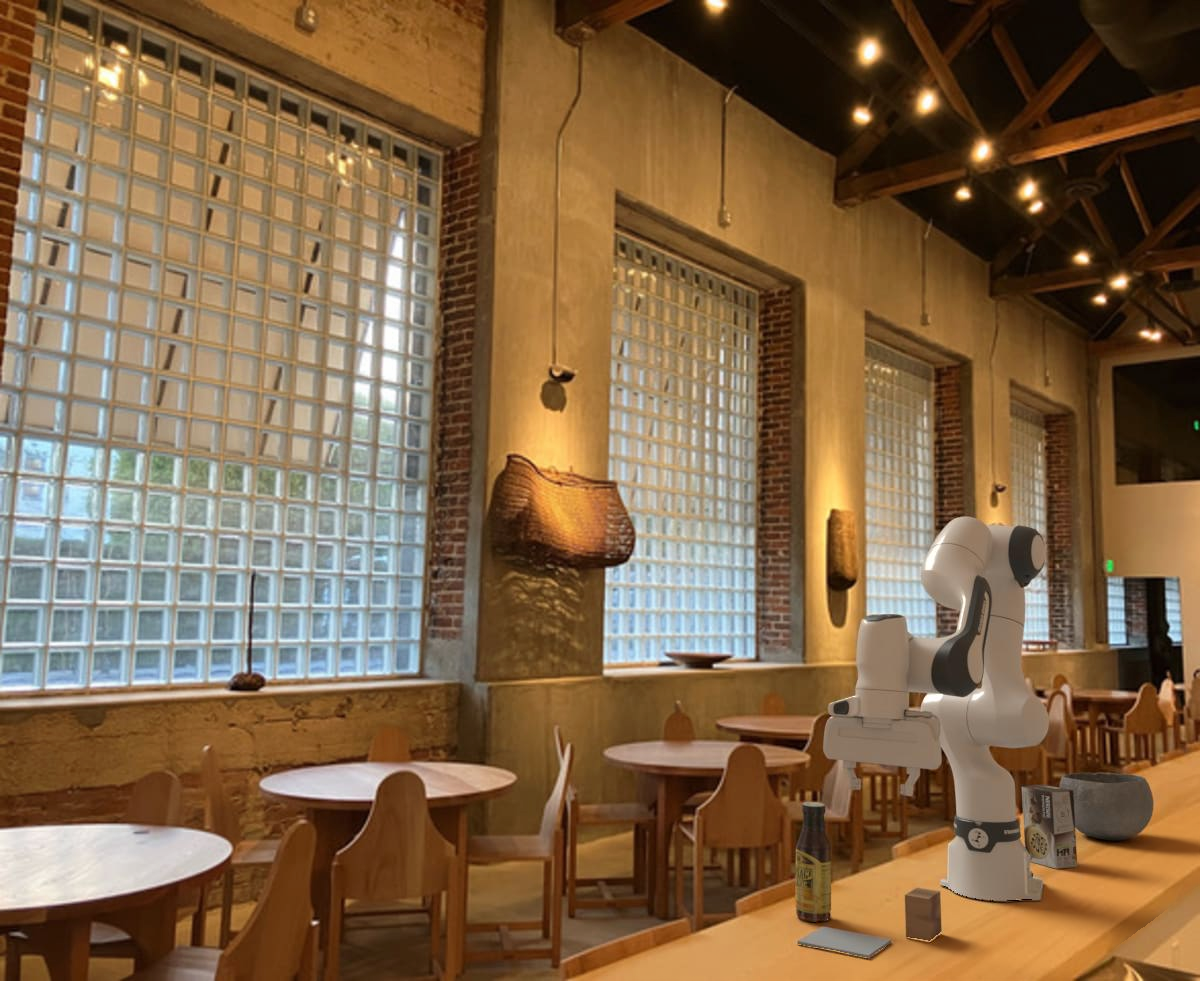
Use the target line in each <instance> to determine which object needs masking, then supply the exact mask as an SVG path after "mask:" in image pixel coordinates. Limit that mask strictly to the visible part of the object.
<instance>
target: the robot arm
mask: <svg viewBox="0 0 1200 981" xmlns="http://www.w3.org/2000/svg"><path fill="white" fill-rule="evenodd" d="M1044 540H1045V539H1044V538H1043V536H1042V535H1041V533H1039V531H1038V530H1037V529H1036V528H1033V527H1029V526H1025V525H1017V526H1013V525H1002V524H985V523H984V522H983V521H982V520H979V519H978V518H976V517H972V516H960V517H956V518H954V519H951V521H949V522H948V523H947V524H946V525H945V526H944V527H943V528H942V530H941V531H940V532H938V533H937V535H936V536H935V537H934V539H933V541H932V544H931V546H930V548H929V550H928V552H927V554H926V556H925V558H924V560H923V561H922V565H921V569H920V576H919V577H920V581H921V584H922V587H923V589H924V590H925V592H926V593H927V595H928V596H929V597H930V598H931V599H933V600H934V601H935V603H938V604H939V605H941V606H943V607H945V608H947V609H953V610H956V611H959V616H958V621H957V625H956V626H957V627H956V631H955V632H954V633H953V634H950V635H948V636H943V637H918V636H917V637H916V636H915V635H914V634H912V633H910V632H909V630H908V623H907V619H906V617H905V616H903V615H902V614H898V613H896V614H895V613H883V614H871V615H867V616H865V617H864V618H862V619H861V622H860V625H859V629H858V634H857V642H856V655H855V656H856V657H855V661H856V662H855V663H856V670H857V676H858V677H857V681H856V685H855V694H854V695H853V696H849V697H846V698H843V699H839V700H837V701H836V700H835V701H832V702H829V704H828V707H827V710H828V714H829V715H831V716H830V717H829V718H828V719H827V721H826V723H825V727H824V733H823V751H822V752H823V754H824V755H825V757H826V758H827V759H828V760H835V761H836V760H837V761H842V769H843V770H844V772H845V775H846V777H847V778H848V783H847V785H848V789H849V790H857V791H860V790H861V789H862V785H861V784H862V779H861V778H858V777H857V775H856V772H855V770H854V769H856V767H857V763H865V764H866V763H867V764H873V765H874V764H877V765H885V766H896V767H905V768H906V774H907V775H909V776H908V777H907V779H906V781H905V783H900V785H899V788H900V791H899V794H900V795H901V796H906V797H913V796H914V785H915V784H916V783H917V781H918V779H919V778H920V776H921V769H923V770H924V769H926V770H937V769H939V767H940V766H941V765H942V762H943V761H942V758H943V757H942V751H943V752H944V754H945V757H946V758H947V760H948V763H949V765H950V769H951V772H952V776H953V781H954V782H953V783H954V792H955V806H956V807H955V809H956V810H955V811H956V814H955V815H954V821H953V827H954V834H955V835H956V836H955V837H954V838H953V840H951V841H950V842H949V843H948V845H947V865H946V866H947V874H946V876H947V877H944V878H941V879H940V881H939V886H941V885H943V886H946V887H948V888H947V889H949V890H950V889H951V890H952V892H953V891H954V892H953V893H954V894H957V893H958V894H957V895H959V894H960V895H959V896H962V895H963V896H962V897H966V896H967V897H968V898H969V899H970V898H971V899H975V898H976V899H977V900H982V899H983V900H984V901H990V900H991V901H992V900H993V901H994V902H1008V901H1007V900H1016V899H1032V900H1031V901H1041V900H1042V896H1043V895H1042V894H1043V889H1044V888H1043V887H1044V881H1043V878H1041V877H1039V876H1035V875H1034V872H1033V871H1032V870H1031V862H1030V856H1029V853H1028V851H1027V850H1026V848H1025V844H1023V841H1022V840H1021V837H1022V835H1021V834H1022V833H1021V819H1020V818H1021V817H1020V816H1017V804H1016V803H1017V802H1016V800H1017V799H1016V784H1015V780H1014V778H1013V776H1012V774H1011V773H1010V772H1009V771H1008V770H1007V769H1006V768H1004V767H1003V766H1001V765H1000V764H998V763H997V761H996V760H995V759H994V758H993V755H992V753H991V752H990V749H989V746H991V747H999V748H1007V749H1017V748H1018V749H1019V748H1028V747H1036V746H1038V745H1040V744H1041V742H1043V740H1044V739H1045V737H1046V736H1047V734H1048V732H1049V726H1050V718H1049V713H1048V710H1047V708H1046V706H1045V704H1044V703H1043V702H1042V699H1040V698H1039V697H1038V696H1037V695H1036V694H1034V692H1033V691H1032V690H1031V688H1030V687H1029V686H1028V684H1027V681H1026V679H1025V675H1024V671H1023V668H1022V666H1023V665H1022V653H1023V652H1022V651H1023V641H1024V631H1025V625H1026V624H1025V622H1026V591H1025V587H1028V586H1029V585H1030V584H1031V581H1032V580H1034V579H1035V578H1037V577H1038V576H1039V574H1040V572H1041V571H1042V570H1043V568H1044V565H1045V561H1046V546H1045V545H1046V544H1045V541H1044ZM980 685H981V688H978V687H979V686H980ZM910 693H920V694H926V695H925V696H924V698H923V700H922V702H921V705H920V708H919V709H920V711H919V710H913V709H912V710H911V709H909V708H910V705H909V704H910V700H909V699H910V697H909V696H910ZM943 886H942V887H943ZM946 887H945V888H946ZM951 890H950V891H951ZM993 901H992V902H993Z"/></svg>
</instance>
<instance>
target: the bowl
mask: <svg viewBox="0 0 1200 981" xmlns="http://www.w3.org/2000/svg"><path fill="white" fill-rule="evenodd" d="M1058 787H1059V788H1064V789H1070V790H1074V792H1073V794H1074V813H1075V830H1078V831H1079V832H1080V833H1082V834H1084V835H1086V836H1088V837H1091V838H1095V839H1099V840H1106V841H1126V840H1128V839H1131V838H1133V837H1135V836H1137V835H1138V834H1140V833H1142V831H1144V830H1145V828H1146V827H1147V826H1148V824H1149V823H1150V821H1151V819H1152V817H1153V812H1154V797H1153V792H1152V789H1151V787H1150V784H1149V782H1148V780H1147V779H1146V778H1145V777H1143V776H1140V775H1135V774H1127V773H1113V772H1102V771H1100V772H1099V771H1097V772H1095V773H1094V772H1070V773H1067V774H1065V775H1062V776H1061V778H1060V782H1059V786H1058Z"/></svg>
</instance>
